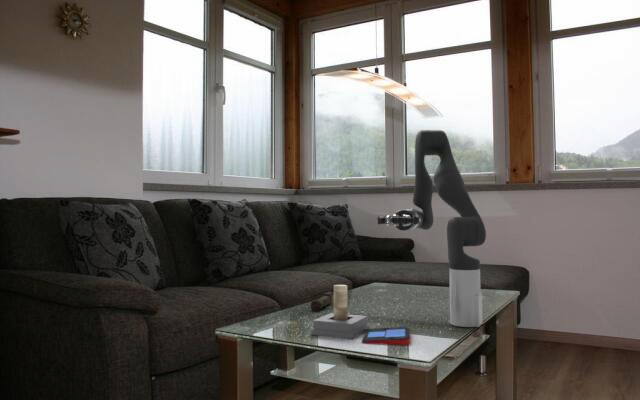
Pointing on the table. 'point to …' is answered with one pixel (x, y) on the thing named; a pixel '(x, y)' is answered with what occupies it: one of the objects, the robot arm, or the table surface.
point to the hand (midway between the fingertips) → (392, 220)
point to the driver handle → (340, 303)
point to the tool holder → (340, 326)
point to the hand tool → (322, 302)
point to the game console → (387, 336)
